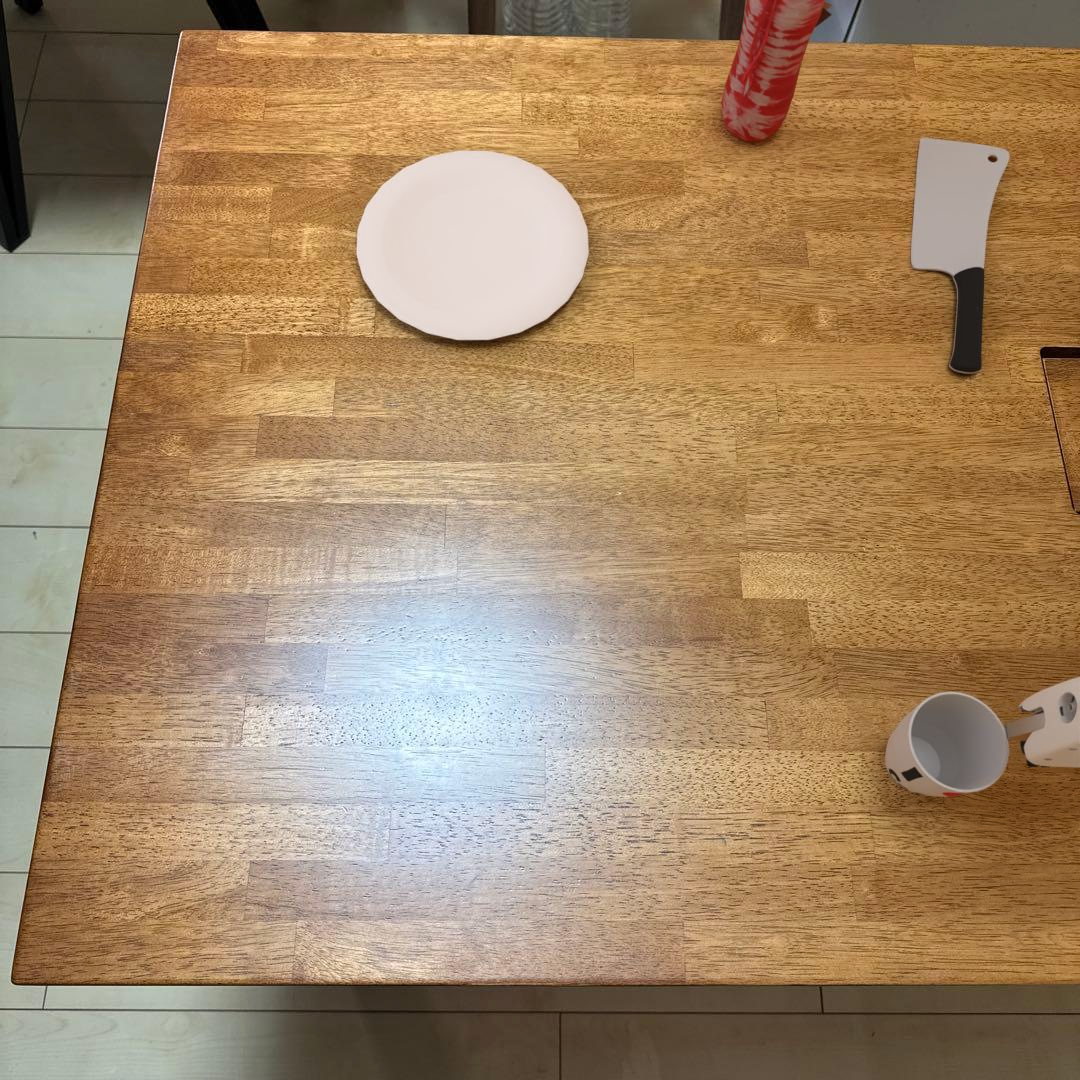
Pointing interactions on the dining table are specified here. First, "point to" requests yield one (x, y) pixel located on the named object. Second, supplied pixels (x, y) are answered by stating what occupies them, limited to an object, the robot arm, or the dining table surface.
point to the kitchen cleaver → (957, 230)
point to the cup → (947, 747)
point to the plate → (472, 245)
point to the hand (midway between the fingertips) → (1034, 748)
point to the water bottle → (768, 64)
